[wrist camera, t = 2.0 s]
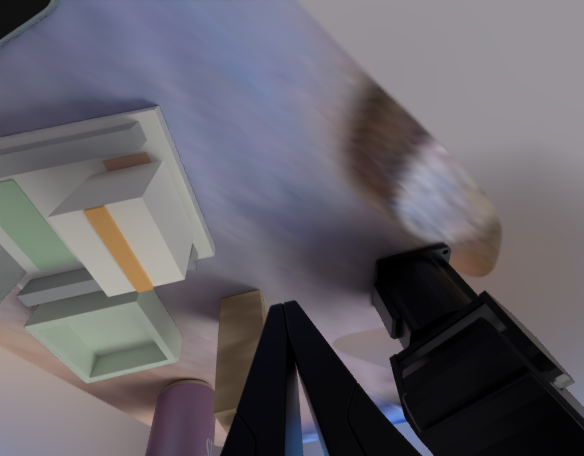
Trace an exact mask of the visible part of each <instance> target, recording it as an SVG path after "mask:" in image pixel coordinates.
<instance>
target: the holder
mask: <svg viewBox="0 0 584 456" xmlns="http://www.w3.org/2000/svg"><path fill="white" fill-rule="evenodd" d="M24 328H25V329H26V330H27V331H28V332H29V333H31V334H32V335H33V336H34V337H35V338H36V339H37V340H38V341H39V342H41V343H42V344H43V345H44V346H45V347H46V348H47V349H48V350H49V351H51V352H52V353H53V354H54V355H55V356H56V357H57V358H58V359H59V360H61V361H62V362H63V363H64V364H65V365H66V366H67V367H68V368H69V369H71V370H72V371H73V372H74V373H75V374H76V375H77V376H78V377H80V378H81V379H82V380H83V381H84V382H85V383H86V384H87V383H91V382H96V381H100V380H104V379H108V378H112V377H117V376H121V375H125V374H129V373H133V372H138V371H142V370H146V369H150V368H155V367H159V366H163V365H167V364H171V363H176V362H178V360H179V354H180V349H181V343H182V338H183V336H182V334H181V333H180V331H179V329H178V328H177V326H176V325H175V323H174V321H173V320H172V318H171V317H170V315H169V313H168V312H167V310H166V308H165V307H164V305H163V304H162V302H161V300H160V299H159V297H158V296H157V294H156V292H155V291H154V289H153V290H148V291H144V292H140V293H138V292H137V291H133V292H128V293H124V294H119V295H115V296H110V297H108V296H107V295H106V293H105V292H104V291H103V290H101V291H96V292H92V293H87V294H83V295H78V296H74V297H69V298H65V299H60V300H56V301H52V302H47V303H43V304H40V305H39V306H38V307H37V309H36V310H35V312H34V313H33V314H32V316H31V317H30V318H29V320H28V321H27V323H26V324H25V325H24Z"/></svg>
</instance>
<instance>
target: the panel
mask: <svg viewBox="0 0 584 456" xmlns="http://www.w3.org/2000/svg"><path fill="white" fill-rule="evenodd" d="M161 160H163V161H164V163H165V165H166V168H167V170H168V172H169V175H170V177H171V179H172V182H173V184H174V186H175V189H176V191H177V193H178V195H179V198H180V200H181V202H182V205H183V207H184V209H185V212H186V214H187V216H188V219H189V221H190V223H191V225H192V228H193V230H194V232H195V233H194V238H193V242H192V247H191V252H190V257H189V261H188V266H187V271H190V270H194V269H196V267H197V261H198V260H199V259H203V258H208V257H212V256H214V255H215V246H214V243H213V241H212V238H211V235H210V233H209V230H208V228H207V225H206V223H205V220H204V218H203V215H202V213H201V210H200V208H199V205H198V203H197V200H196V198H195V195H194V193H193V190H192V188H191V185H190V183H189V180H188V178H187V175H186V173H185V170H184V168H183V165H182V162H181V160H180V157H179V155H178V152H177V150H176V147H175V145H174V142H173V140H172V137H171V135H170V132H169V130H168V127H167V125H166V122H165V120H164V117H163V115H162V112H161V110H160V107H159V106H154V107H149V108H144V109H139V110H134V111H129V112H124V113H119V114H114V115H109V116H104V117H99V118H94V119H89V120H84V121H79V122H74V123H69V124H64V125H59V126H54V127H49V128H44V129H39V130H34V131H29V132H24V133H19V134H14V135H9V136H4V137H0V303H1V302H2V301H3V299H4V298H5V297H6V296H7V295H8V294H9V293H10V291H11V290H12V289H13V288H14V287H15V286H16V285H17V286H18V287H19V288H20V289H21V291H20V292H19V294H18V295H17V296H16V297H17V298H18V299H19V300H20V301H21V302H22V303H23V304H24V305H25V306H26V307H29V306H34V305H38V304H43V303H47V302H52V301H56V300H60V299H65V298H69V297H74V296H78V295H83V294H87V293H92V292H96V291H101V290H102V288H101V287H100V286H99V284H98V283H97V282H96V280H95V279H94V278H93V277H92V275H91V274H90V273H89V271H88V270H87V269H86V267H85V266H84V265H83V264H82V262H81V261H80V260H79V258H78V257H77V256H76V254H75V253H74V252H73V250H72V249H71V248H70V247H69V245H68V244H67V243H66V241H65V240H64V239H63V237H62V236H61V235H60V234H59V232H58V231H57V230H56V228H55V227H54V226H53V224H52V223H51V222H50V221H49V219H48V218H47V217H48V216H49V215H50V214H51V213H52V212H53V211H54V210H55V209H56V208H57V207H58V206H59V205H60V204H61V203H62V202H63V201H64V200H65V199H66V198H67V197H68V196H69V195H70V194H71V193H72V192H73V191H74V190H75V189H77V188H78V187H79V186H80V185H81V184H82V183H83V182H84V181H85V180H86V179H87V178H88V177H89V176H90V175H94V174H99V173H103V172H108V171H113V170H118V169H123V168H127V167H132V166H137V165H142V164H147V163H152V162H156V161H161Z"/></svg>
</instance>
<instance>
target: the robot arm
mask: <svg viewBox="0 0 584 456" xmlns="http://www.w3.org/2000/svg"><path fill="white" fill-rule="evenodd" d="M450 254H451V249H450V247H449V246H448V245H441V246H436V247H432V248H428V249H423V250H419V251H414V252H410V253H406V254H401V255H397V256H393V257H388V258H384V259H380V260H378V261H377V262H376V273H375V281H374V283H373V303H374V305H375V308H376V310H377V312H378V313H379V315H380V317H381V319H382V321H383V323H384V325H385V327H386V329H387V331H388V333H389V335H390V337H391V338H393V339H399V341H400V343H401V344H402V346H403V348H404V350H402V351H401V352H399V353H398V354H394V355H393V356H392V357H390V363H391V367H392V371H393V375H394V379H395V382H396V386H397V390H398V394H399V398H400V401H401V405H402V409H403V413H404V416H405V419H406V421H407V422H408V423H409V424H410V426H411V428H412V429H413V431H414V432H415V434H416V435H417V436H418V438H419V439H420V440H421V441H422V443H423V444H424V445H425V446H426V447H427V448H428V449H429V450H430V451H431V453H432V454H433V455H434V456H584V407H583V406H582V405H581V404H580V403H579V402H578V400H577V399H576V398H575V397H574V396H573V395H572V394H571V393H570V392H569V391H568V390H567V389H566V388H565V387H567V386H569V385H571V384H573V383H574V382H575V381H574V380H573V379H572V378H571V376H570V375H569V374H568V373H567V372H566V371H565V370H564V368H563V367H562V366H561V365H560V364H559V363H558V362H557V360H556V359H555V358H554V357H553V356H552V355H551V354H550V352H549V351H548V350H547V349H546V348H545V347H544V345H543V344H542V343H541V342H540V341H539V340H538V339H537V338H536V337H535V336H534V335H533V334H532V333H531V332H530V331H529V330H528V329H527V328H526V327H525V326H524V325H523V324H522V323H521V322H520V321H519V320H518V319H517V318H516V317H515V316H514V315H513V314H512V313H511V312H510V311H509V310H508V309H506V308H505V307H504V306H503V305H502V304H500V303H499V302H498V301H497V300H496V299H495V298H494V297H492V296H491V295H490V294H489V293H488V292H486V291H483V292H482V293H481V294H479V296H478V295H477V294H476V293H475V292H474V291H473V289H472V288H471V287H470V286H469V285H468V284H467V283H466V282H465V281H464V280H463V279H462V278H461V276H460V275H459V274H458V273H457V272H456V271H455V270H454V269H453V268H452V267H451V265H450V264H449V259H450ZM381 265H382V266H381ZM296 366H297V368H296ZM297 370H298V374H299V377H300V380H301V383H302V387H303V390H304V393H305V396H306V399H307V402H308V405H309V408H310V412H311V415H312V418H313V421H314V424H315V427H316V430H317V433H318V437H319V440H320V443H321V446H322V449H323V452H324V455H325V456H422V455H421V454H420V453H419V452H418V451H417V450H416V449H415V448H414V447H413V446H412V445H411V444H410V442H408V441H407V439H406V438H405V437H404V436H403V435H402V434H401V433H400V432H399V431H398V430H397V429H396V428H395V427H394V426H393V424H392V423H391V422H390V421H389V420H388V419H387V418H386V417H385V415H384V414H383V413H382V412H381V411H380V410H379V409H378V407H377V406H376V405H375V404H374V402H373V401H372V400H371V399H370V397H369V396H368V395H367V394H366V392H365V391H364V390H363V388H362V387H361V386H360V384H359V383H357V381H356V379H355V378H354V377H353V375H352V374H351V373H350V371H349V370H348V369H347V367H346V366H345V365H344V363H343V362H342V361H341V360H340V358H339V357H338V356H337V354H336V353H335V352H334V350H333V349H332V348H331V346H330V345H329V344H328V342H327V341H326V340H325V338H324V337H323V336H322V334H321V333H320V332H319V330H318V329H317V328H316V326H315V325H314V324H313V323H312V321H311V320H310V319H309V317H308V316H307V315H306V313H305V312H304V311H303V309H302V308H301V307H300V305H299V304H298V303H297V301H295V300H292V301H288V302H284V304H282V303H279V304H275V305H271V306H270V308H269V311H268V314H267V317H266V320H265V323H264V326H263V329H262V332H261V335H260V338H259V342H258V345H257V348H256V351H255V354H254V357H253V360H252V363H251V366H250V369H249V372H248V375H247V378H246V381H245V384H244V387H243V390H242V393H241V396H240V400H239V403H238V406H237V409H236V412H237V413H235V414H234V417H233V420H232V424H231V427H230V430H229V432H228V435H227V438H226V441H225V443H224V446H223V449H222V452H221V454H220V456H303V443H302V430H301V416H300V403H299V389H298V377H297Z"/></svg>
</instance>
